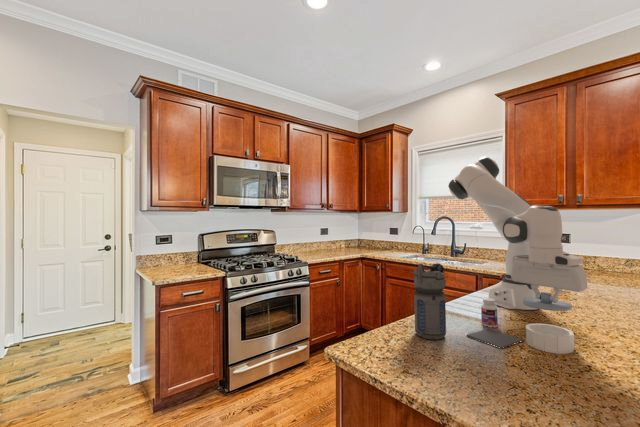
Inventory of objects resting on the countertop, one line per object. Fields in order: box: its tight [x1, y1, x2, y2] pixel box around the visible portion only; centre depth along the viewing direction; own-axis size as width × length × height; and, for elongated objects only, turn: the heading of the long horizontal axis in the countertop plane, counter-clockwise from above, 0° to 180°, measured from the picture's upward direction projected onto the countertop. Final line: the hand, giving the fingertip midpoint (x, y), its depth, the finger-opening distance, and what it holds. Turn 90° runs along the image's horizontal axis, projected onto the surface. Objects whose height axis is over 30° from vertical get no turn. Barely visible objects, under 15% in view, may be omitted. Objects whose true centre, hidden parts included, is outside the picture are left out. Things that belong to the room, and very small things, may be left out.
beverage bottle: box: [413, 262, 447, 341], centre depth 109 cm, size 10×13×25 cm
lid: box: [523, 291, 573, 312], centre depth 99 cm, size 13×13×4 cm
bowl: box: [525, 322, 575, 355], centre depth 98 cm, size 12×12×5 cm
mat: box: [466, 328, 525, 349], centre depth 105 cm, size 12×12×1 cm
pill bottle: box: [480, 297, 499, 328], centre depth 118 cm, size 5×5×10 cm
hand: (546, 300), depth 99 cm, fingers closed on lid, 3 cm apart
